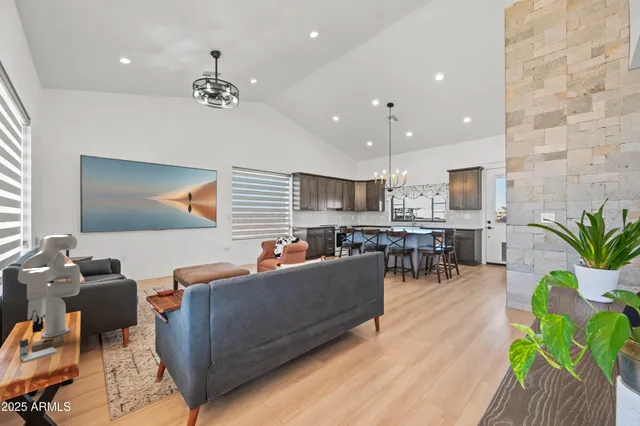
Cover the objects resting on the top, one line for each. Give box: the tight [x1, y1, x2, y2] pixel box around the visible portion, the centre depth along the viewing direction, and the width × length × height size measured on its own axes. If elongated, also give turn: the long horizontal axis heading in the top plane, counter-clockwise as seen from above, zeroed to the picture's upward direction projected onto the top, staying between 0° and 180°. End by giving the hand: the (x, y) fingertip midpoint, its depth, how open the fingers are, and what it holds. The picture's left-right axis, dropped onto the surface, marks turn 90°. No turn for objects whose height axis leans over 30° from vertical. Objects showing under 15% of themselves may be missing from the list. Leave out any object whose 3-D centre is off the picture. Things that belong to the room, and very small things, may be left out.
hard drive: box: [20, 347, 58, 363], centre depth 150 cm, size 2×8×12 cm
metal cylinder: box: [19, 338, 29, 358], centre depth 150 cm, size 3×3×8 cm
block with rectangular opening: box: [31, 336, 65, 352], centre depth 160 cm, size 6×12×3 cm, turn 122°
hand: (38, 330), depth 145 cm, fingers open, 2 cm apart
